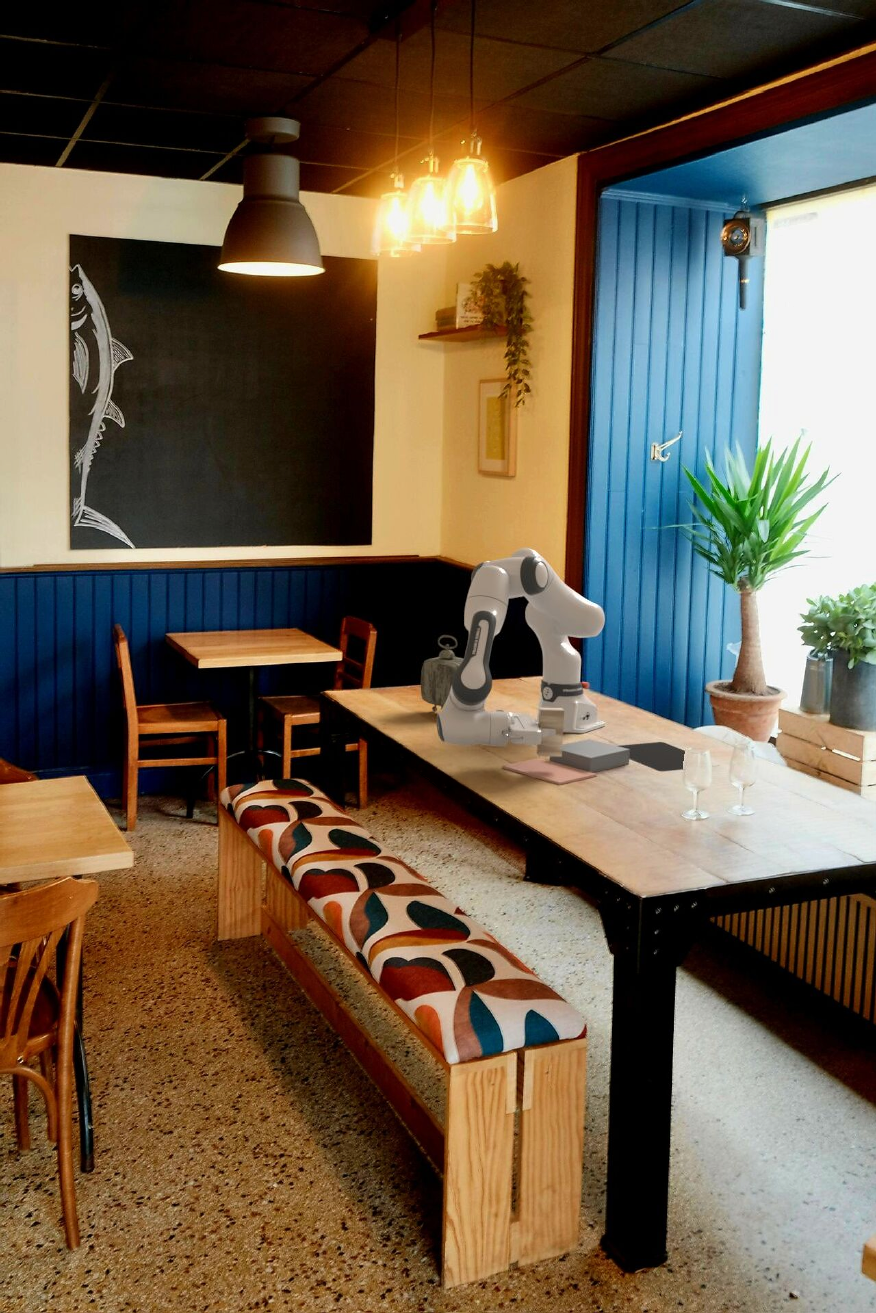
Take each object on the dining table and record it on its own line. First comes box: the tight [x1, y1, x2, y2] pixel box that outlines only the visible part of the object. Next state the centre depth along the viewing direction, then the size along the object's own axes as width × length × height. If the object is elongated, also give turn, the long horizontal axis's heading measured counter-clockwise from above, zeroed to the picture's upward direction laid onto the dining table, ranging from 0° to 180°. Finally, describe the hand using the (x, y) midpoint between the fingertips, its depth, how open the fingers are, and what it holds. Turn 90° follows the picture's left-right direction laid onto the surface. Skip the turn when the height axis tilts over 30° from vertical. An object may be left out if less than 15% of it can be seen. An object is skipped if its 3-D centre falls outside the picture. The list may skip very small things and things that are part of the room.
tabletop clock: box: [420, 634, 464, 712], centre depth 376 cm, size 14×9×25 cm, turn 58°
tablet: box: [618, 741, 686, 772], centre depth 336 cm, size 27×1×20 cm
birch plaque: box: [536, 708, 564, 757], centre depth 314 cm, size 3×6×12 cm, turn 94°
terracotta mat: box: [501, 757, 598, 786], centre depth 316 cm, size 14×20×1 cm
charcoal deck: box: [549, 738, 630, 773], centre depth 326 cm, size 16×14×4 cm
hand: (553, 729), depth 314 cm, fingers closed on birch plaque, 3 cm apart
